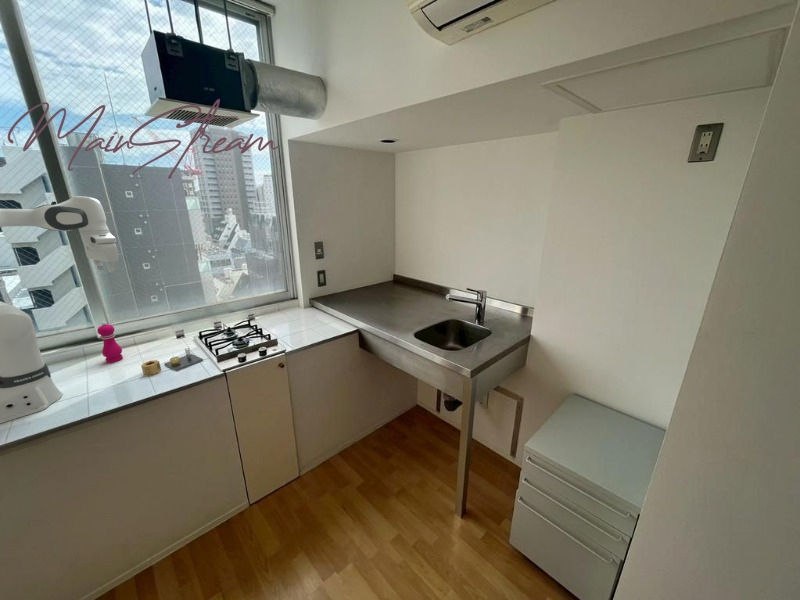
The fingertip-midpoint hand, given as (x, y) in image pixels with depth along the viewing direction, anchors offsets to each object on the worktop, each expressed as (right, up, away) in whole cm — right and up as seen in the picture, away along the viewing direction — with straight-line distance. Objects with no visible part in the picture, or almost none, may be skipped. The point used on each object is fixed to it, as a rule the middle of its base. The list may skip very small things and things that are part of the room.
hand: (105, 270), depth 133 cm
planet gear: (+12, -45, +10) cm, 48 cm away
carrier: (+20, -43, +19) cm, 51 cm away
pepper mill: (-16, -42, +22) cm, 50 cm away
